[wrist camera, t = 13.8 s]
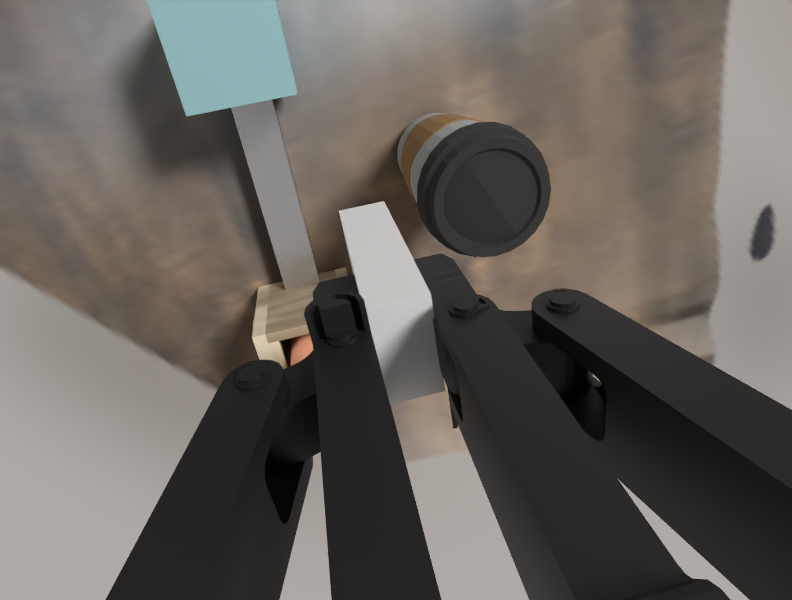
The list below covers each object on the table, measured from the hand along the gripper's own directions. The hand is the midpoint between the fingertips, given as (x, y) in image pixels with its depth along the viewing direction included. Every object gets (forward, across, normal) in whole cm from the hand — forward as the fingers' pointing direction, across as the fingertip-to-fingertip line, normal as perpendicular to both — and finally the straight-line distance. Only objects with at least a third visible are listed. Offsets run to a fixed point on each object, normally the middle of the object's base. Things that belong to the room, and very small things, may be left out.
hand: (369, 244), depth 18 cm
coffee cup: (+28, +8, -5) cm, 30 cm away
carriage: (+28, -5, +6) cm, 29 cm away
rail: (+28, -5, -2) cm, 28 cm away
